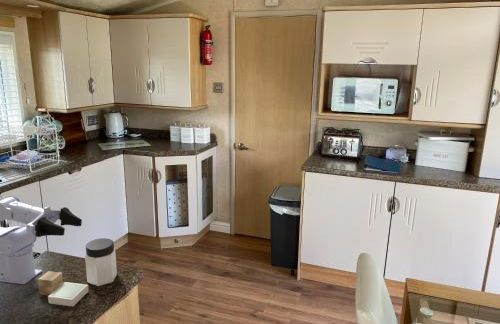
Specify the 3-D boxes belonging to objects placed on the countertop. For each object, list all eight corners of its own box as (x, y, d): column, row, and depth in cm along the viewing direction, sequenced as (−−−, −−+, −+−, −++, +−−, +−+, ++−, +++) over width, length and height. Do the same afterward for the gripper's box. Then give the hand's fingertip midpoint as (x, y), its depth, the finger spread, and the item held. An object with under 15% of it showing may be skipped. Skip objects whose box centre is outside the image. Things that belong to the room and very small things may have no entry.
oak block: (39, 294, 109) (38, 279, 108) (50, 285, 114) (48, 271, 112) (53, 296, 109) (52, 280, 107) (63, 287, 113) (62, 272, 112)
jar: (90, 289, 112) (86, 252, 109) (84, 276, 119) (81, 242, 116) (120, 280, 117) (118, 245, 114) (113, 269, 124) (111, 235, 121)
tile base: (48, 303, 105) (47, 296, 104) (65, 288, 112) (64, 281, 112) (73, 306, 104) (72, 299, 103) (88, 291, 111) (87, 284, 111)
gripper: (13, 210, 104) (56, 223, 102) (50, 196, 118) (89, 207, 116) (12, 233, 105) (54, 246, 103) (49, 217, 119) (86, 228, 117)
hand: (72, 227), depth 109 cm, fingers open, 7 cm apart
